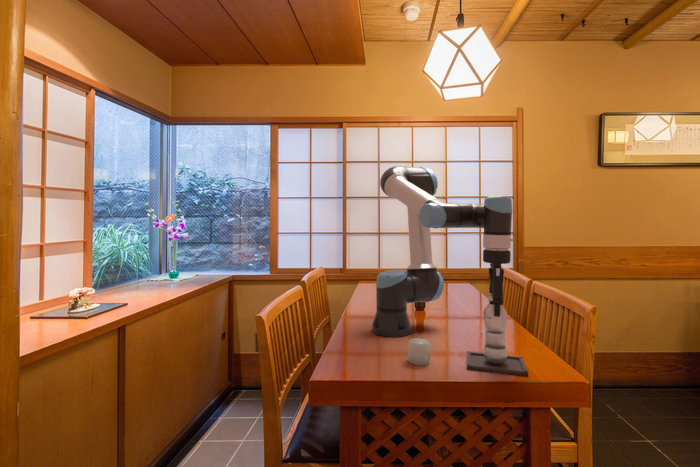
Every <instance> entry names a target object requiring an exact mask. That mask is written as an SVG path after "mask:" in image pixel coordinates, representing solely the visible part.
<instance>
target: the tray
mask: <svg viewBox="0 0 700 467" xmlns="http://www.w3.org/2000/svg"><path fill="white" fill-rule="evenodd" d="M466 370H468V371H470V370H471V371H477V372H487V373H495V374H504V375H513V376H523V377H529V370H528V367H527V366H526V364H525V360H524V358H523V356H516V355H508V356H507V361H506V362H505V363H504V364H492V363H489V362H487V361H486V360H485V358H484V354H483V352H479V351H478V352H477V351H476V352H475V351H466Z"/></svg>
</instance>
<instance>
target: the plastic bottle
mask: <svg viewBox="0 0 700 467" xmlns="http://www.w3.org/2000/svg"><path fill="white" fill-rule="evenodd" d="M490 301H492V295H489V294H488V300H487V302H488V304H487V305H486V306H485V308H484V310H483V312H482V313H483V321H484V322H483V323H484V331H485V336H484V337H485V338H484V347H483V350H482V351H483V352H482V353H483V354H484V358H485V360H486V361H487V362H489V363H492V364H504V363H505V362H506V361H507V356H509V355H508V350H507V343H506V342H507V341H506V328H507V327H506V326H507V320H508V311H507V310H506V308H505V307H504V305H502V328H495V327H491V311H492V304H490Z"/></svg>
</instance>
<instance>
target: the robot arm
mask: <svg viewBox="0 0 700 467" xmlns="http://www.w3.org/2000/svg"><path fill="white" fill-rule="evenodd" d="M379 184H380V188H381V190H382V192H383V193H384V194H385V195H386V196H387V197H389V198H391V199H396V200H398V201H399V202H400V203H401V204H403V205H405V206H406V207H407V223H408V224H407V225H408V226H407V227H408V241H409V242H408V243H409V259H410V261H409V262H410V264H409V265H408V267H407V268H406V270H405V269H388V270H385V271H382V272H380V273H378V274H377V276H376V282H375V286H376V290H375V292H376V293H375V294H376V295H375V296H376V310H375V315H374V318H373V321H372V324H371V332H372V333H373V334H375V335H378V336H381V337H388V338H389V337H390V338H399V337H406V336H408V335H411V333H412V324H411V321H410V318H409V315H408V307H407V306H408V304H414V303H428V302H429V303H430V302H434V301H437V300H438V299H439V298H441V296H442V294H443V291H444V286H445V282H444V277H443V276H442V274H441V273H440V272H439V271H437V266H436V265H435V264H433V253H432V237H431V236H432V235H431V234H432V233H431V229H451V228H452V229H455V228H457V229H459V228H460V229H462V228H463V229H467V228H470V229H471V228H472V229H473V228H475V229H483V234H482V236H483V239H482V241H483V242H482V247H483V248H484V249H483V251H482V252H483V253H482V261H483V262H484V263H486V264H489V265H490V267H489V268H488V278H489V288H488V289H489V291H488V292H489V294H488V296H489V295H492V301H490V304H492V311H491V327H495V328H502V306H503V304H504V288H503V286H504V285H503V284H504V275H505V270H504V268H502V264H503V265H507V264H510V262H511V250H509V249H510V248H511V247H512V246H511V245H512V243H511V242H514V238H513V237H512V223H513V222H512V221H513V220H512V219H513V218H512V217H513V202H512V200H513V199H512V198H511V197H510V196H508V195H493V196H492V195H490V196H486V197H485V198H484V202H483V203H452V202H451V203H450V202H449V203H448V202H447V203H446V202H443V201H441V200H440V199H438V197H437V198H436V197H435V195H436V193H437V189H438V185H439V182H438V178H437V175H436V174H435V172H434V171H433V170H432V169H431V168H428V167H423V166H401V165H400V166H399V165H396V166H392V167H389V168H388V169H386V170H385V171H384V172H383V174H382V175H381V177H380V182H379Z"/></svg>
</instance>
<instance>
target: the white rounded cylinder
mask: <svg viewBox="0 0 700 467" xmlns="http://www.w3.org/2000/svg"><path fill="white" fill-rule="evenodd" d="M407 348H408V350H407V352H408V353H407V362H409V363H410V364H412V365H415V366H427V365H429V364H430V359H431V358H430V357H431V356H430V355H431V341H430V340H428V339H425V338H421V337H420V338H419V337H417V338H415V337H414V338H410V339H409V340H408V347H407Z"/></svg>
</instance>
